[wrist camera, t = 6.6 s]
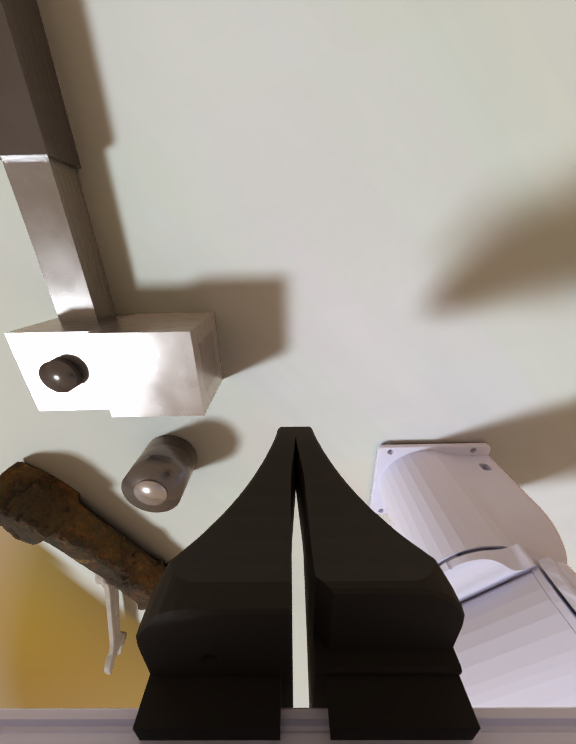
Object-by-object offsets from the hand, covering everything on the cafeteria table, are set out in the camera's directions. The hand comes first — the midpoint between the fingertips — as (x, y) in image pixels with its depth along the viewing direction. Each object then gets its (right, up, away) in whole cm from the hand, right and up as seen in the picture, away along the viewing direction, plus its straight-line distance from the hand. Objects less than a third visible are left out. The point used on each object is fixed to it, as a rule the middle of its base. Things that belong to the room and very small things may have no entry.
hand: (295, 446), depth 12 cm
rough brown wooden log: (-20, -12, +17) cm, 28 cm away
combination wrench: (-21, -24, +22) cm, 39 cm away
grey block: (-8, +5, +9) cm, 13 cm away
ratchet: (-11, +12, +5) cm, 18 cm away
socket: (-11, -4, +13) cm, 17 cm away
